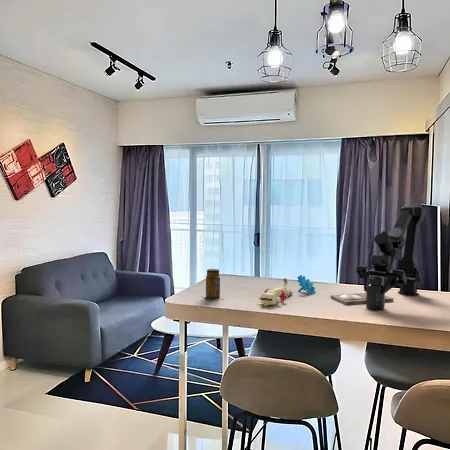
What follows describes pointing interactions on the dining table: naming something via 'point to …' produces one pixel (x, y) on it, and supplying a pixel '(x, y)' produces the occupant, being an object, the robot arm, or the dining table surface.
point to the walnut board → (354, 298)
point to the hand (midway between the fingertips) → (373, 292)
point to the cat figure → (275, 295)
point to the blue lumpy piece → (305, 284)
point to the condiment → (213, 285)
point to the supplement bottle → (375, 294)
